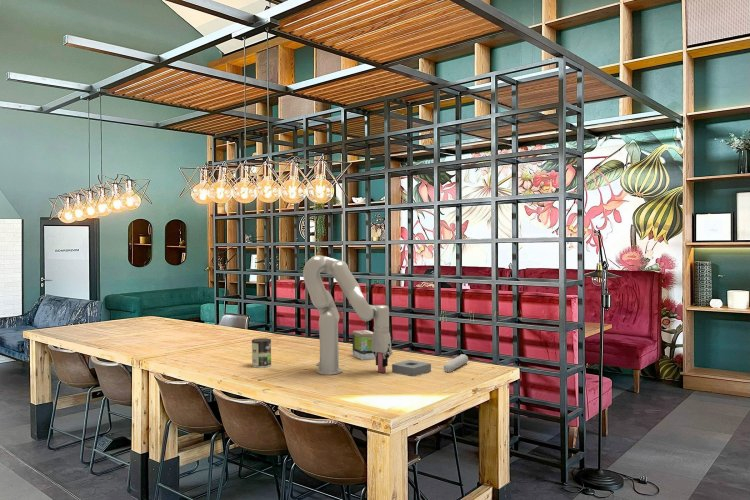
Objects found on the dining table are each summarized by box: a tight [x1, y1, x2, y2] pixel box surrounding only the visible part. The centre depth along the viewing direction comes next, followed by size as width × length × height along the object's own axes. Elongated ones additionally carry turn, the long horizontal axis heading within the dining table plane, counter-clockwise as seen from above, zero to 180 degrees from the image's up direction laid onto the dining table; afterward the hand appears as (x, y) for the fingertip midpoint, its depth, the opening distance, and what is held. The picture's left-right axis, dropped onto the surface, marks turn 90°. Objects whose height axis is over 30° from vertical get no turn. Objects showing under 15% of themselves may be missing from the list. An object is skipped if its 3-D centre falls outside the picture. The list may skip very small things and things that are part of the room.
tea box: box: [351, 329, 376, 361], centre depth 331 cm, size 15×10×15 cm
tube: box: [443, 353, 469, 373], centre depth 301 cm, size 5×5×25 cm
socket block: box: [391, 359, 432, 377], centre depth 293 cm, size 14×14×4 cm
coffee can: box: [251, 337, 272, 369], centre depth 311 cm, size 10×10×14 cm
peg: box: [377, 352, 387, 373], centre depth 293 cm, size 4×4×12 cm
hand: (381, 365), depth 293 cm, fingers closed on peg, 4 cm apart
